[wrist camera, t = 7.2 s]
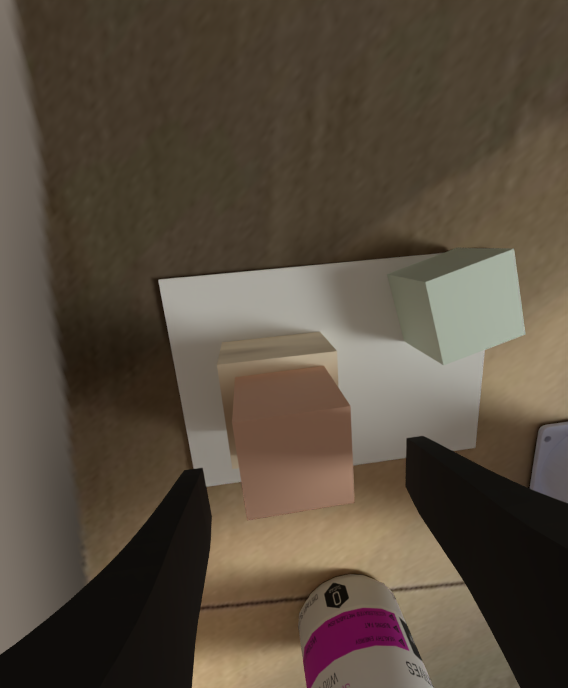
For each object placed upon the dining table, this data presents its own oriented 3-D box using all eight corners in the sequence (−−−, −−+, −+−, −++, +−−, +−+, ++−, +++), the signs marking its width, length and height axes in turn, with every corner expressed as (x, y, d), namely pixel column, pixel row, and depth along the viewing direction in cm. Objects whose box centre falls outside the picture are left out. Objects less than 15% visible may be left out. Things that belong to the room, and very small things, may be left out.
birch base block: (324, 418, 23) (341, 453, 19) (234, 430, 22) (232, 469, 18) (320, 331, 21) (337, 351, 17) (221, 342, 20) (216, 364, 17)
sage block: (469, 316, 22) (525, 334, 17) (404, 341, 22) (443, 365, 17) (456, 247, 20) (513, 248, 16) (386, 274, 20) (425, 282, 16)
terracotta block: (328, 442, 18) (354, 502, 14) (246, 454, 18) (247, 520, 14) (324, 365, 17) (350, 406, 13) (235, 377, 17) (231, 422, 12)
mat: (471, 444, 25) (475, 447, 25) (198, 484, 23) (197, 488, 23) (489, 248, 21) (494, 248, 21) (159, 279, 19) (158, 279, 19)
